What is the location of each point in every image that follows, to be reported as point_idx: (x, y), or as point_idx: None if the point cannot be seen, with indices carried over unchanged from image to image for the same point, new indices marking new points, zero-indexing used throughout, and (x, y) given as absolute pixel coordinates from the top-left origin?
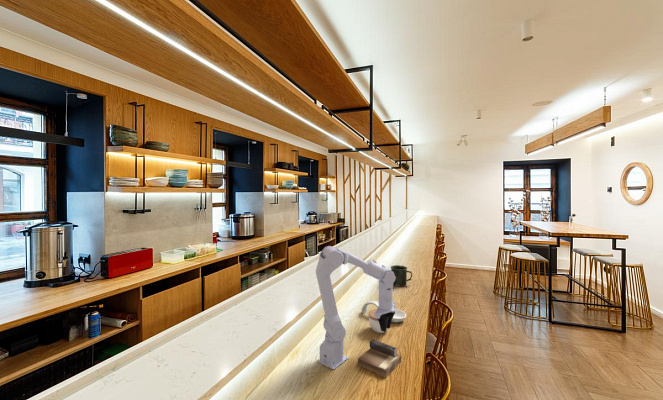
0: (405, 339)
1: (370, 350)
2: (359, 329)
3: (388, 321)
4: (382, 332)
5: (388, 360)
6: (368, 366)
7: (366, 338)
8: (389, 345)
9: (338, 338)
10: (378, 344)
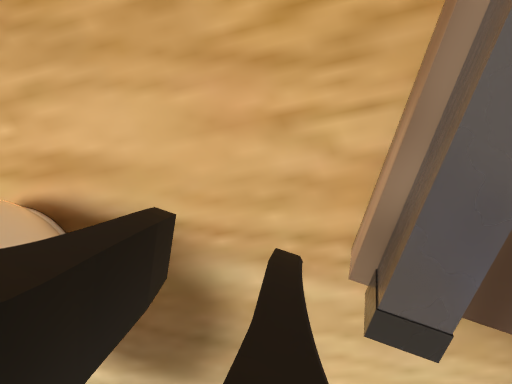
0: (40, 18)
1: (474, 298)
2: (113, 377)
3: (96, 294)
4: (59, 229)
5: None
6: None
7: (198, 324)
8: (460, 122)
9: None
10: (480, 264)
